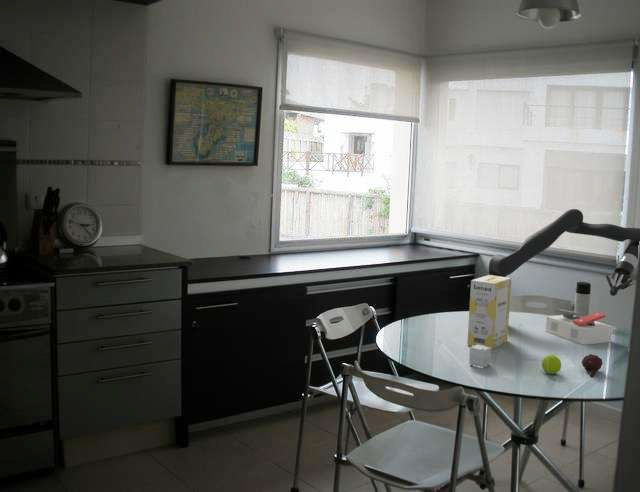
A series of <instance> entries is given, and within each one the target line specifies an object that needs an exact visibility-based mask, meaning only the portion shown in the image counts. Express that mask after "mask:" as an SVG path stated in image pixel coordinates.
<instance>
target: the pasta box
mask: <svg viewBox="0 0 640 492" xmlns="http://www.w3.org/2000/svg"><path fill="white" fill-rule="evenodd" d="M511 288H512V277H507V276H506V277H501V276H493V275H489V274H487V275H485V276H484V275H483V276H481V277H477V278H474V279H471V280H470V292H469V293H470V295H469V296H470V297H469V309H468V310H469V311H468V312H469V314H468V329H467V342H466V343H467V344H468V345H467V344H466V345H467V346H469V345H473V346H475V345H477V344H478V345H482V346H487V347H491V350H493V349H494V348H497V347H498V346H500V345H502V344H504V343H506V342H508V336H509V334H508V333H509V323H510V322H509V320H510V319H509V318H510V307H511V305H510V304H511V291H512V290H511ZM473 346H472V347H473Z"/></svg>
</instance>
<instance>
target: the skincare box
mask: <svg viewBox="0 0 640 492" xmlns="http://www.w3.org/2000/svg"><path fill="white" fill-rule="evenodd" d="M491 354H492V349H491V347H487V346H482V345H478V344H477V345H475V346H470V348H469V359H468V360H469V361H468V363H469V364H471V365H475V366H480V367H485V366H487V367H489V366H491ZM469 364H468V365H469ZM488 365H489V366H488ZM485 368H486V367H485Z"/></svg>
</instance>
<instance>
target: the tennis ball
mask: <svg viewBox="0 0 640 492" xmlns="http://www.w3.org/2000/svg"><path fill="white" fill-rule="evenodd" d="M541 368H542V370H543V371H544V372H545V373H546V374H549V375H555V374H557V373H559V372H560V371H561V369H562V361H561V359H560V358H559V357H558V356H556V355H554V354H551V355H550V354H549V355H546V356H544V358H543V359H542V361H541Z"/></svg>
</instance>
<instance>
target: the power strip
mask: <svg viewBox="0 0 640 492" xmlns="http://www.w3.org/2000/svg"><path fill="white" fill-rule="evenodd" d="M579 318H582V317H580V316H575V315H574V316H572V315H569V314H564V313H562V314H560V315H559V314H558V315H549V316H548V315H547V316H546V321H545V322H546V323H545V332H547V333H550V334H552V335H555V336H558V337H559V338H560V337H561V338H564V339H566V340H569V341H572V342H575V343H577V344H581V345H583V346H585V345H593V344H604V343H605V344H606V343H611V342H612V338H613V329H614V328H613V327H614V326H613V325H609V324H606V323H604V322H603V323H602V322H600V321H598V320H596V321H594V322H591V323H588V324H585V325H582V326H580V325H577V324H574V323H573V320H576V319H579Z"/></svg>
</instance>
